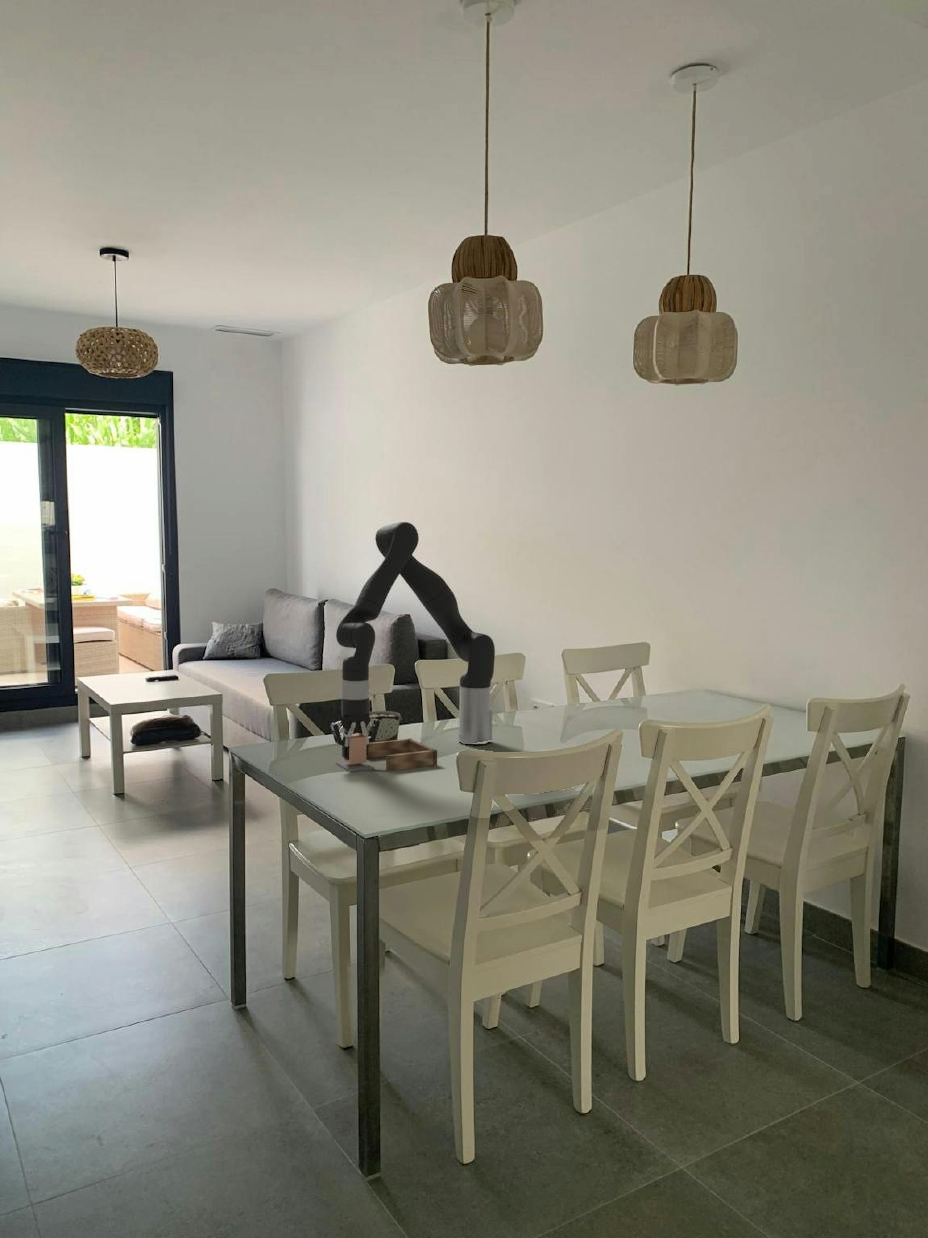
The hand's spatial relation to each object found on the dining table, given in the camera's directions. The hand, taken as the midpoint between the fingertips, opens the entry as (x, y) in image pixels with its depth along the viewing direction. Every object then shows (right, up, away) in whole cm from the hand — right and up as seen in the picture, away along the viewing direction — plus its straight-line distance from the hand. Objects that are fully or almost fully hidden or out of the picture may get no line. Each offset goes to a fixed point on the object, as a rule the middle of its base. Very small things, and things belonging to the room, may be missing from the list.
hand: (355, 758), depth 260 cm
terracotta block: (0, -1, 0) cm, 1 cm away
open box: (+11, -2, +7) cm, 13 cm away
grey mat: (0, -2, 0) cm, 2 cm away
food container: (+4, 0, +24) cm, 25 cm away
